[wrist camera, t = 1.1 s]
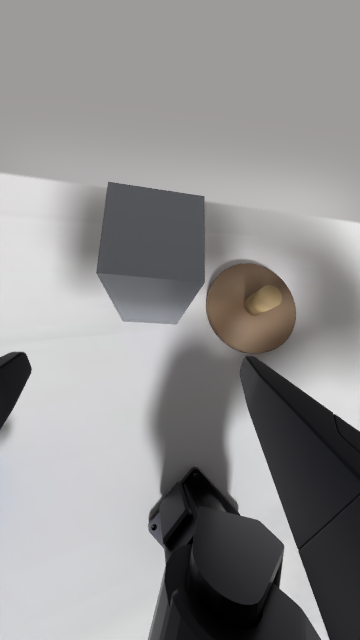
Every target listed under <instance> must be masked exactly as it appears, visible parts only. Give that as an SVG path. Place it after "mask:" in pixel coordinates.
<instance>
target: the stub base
mask: <svg viewBox="0 0 360 640" xmlns="http://www.w3.org/2000/svg"><path fill="white" fill-rule="evenodd" d="M206 311H207V316H208V320H209V323H210V325H211V327H212V329H213V330H214V332H215V333H216V335H217V336H218V337H219V338H220V339H221V340H222V341H223V342H224V343H225V344H227V345H228V346H230V347H231V348H233V349H235V350H238V351H241V352H245V353H262V352H267V351H271V350H274V349H276V348H277V347H279V346H280V345H282V344H283V343H284V342H285V341H286V340H287V339H288V337H289V336H290V334H291V332H292V330H293V328H294V325H295V320H296V308H295V303H294V300H293V297H292V294H291V292H290V290H289V289H288V287H287V285H286V284H285V283H284V282H283V280H282V279H281V278H280V277H279V276H277V275H276V274H275V273H274V272H272V271H271V270H269V269H267V268H265V267H262V266H259V265H255V264H238V265H234V266H232V267H229V268H228V269H226V270H225V271H223V272H222V273H221V274H220V275H219V276H218V277H217V278H216V280H215V281H214V282H213V284H212V285H211V287H210V289H209V292H208V295H207V300H206Z"/></svg>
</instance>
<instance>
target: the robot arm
mask: <svg viewBox="0 0 360 640" xmlns="http://www.w3.org/2000/svg"><path fill="white" fill-rule="evenodd" d="M31 370H32V369H31V365H30V362H29V360H28V357H27V355H26V353H24V352H11V353H9V354H6V355H4V356H2V357H0V429H1V428H2V426H3V424H4V423H5V421H6V420H7V418H8V416H9V415H10V413H11V411H12V410H13V408H14V406H15V404H16V402H17V400H18V398H19V396H20V394H21V392H22V390H23V388H24V386H25V384H26V382H27V380H28V378H29V376H30V374H31ZM240 377H241V382H242V386H243V390H244V394H245V399H246V403H247V407H248V410H249V413H250V416H251V419H252V422H253V424H254V427H255V430H256V433H257V436H258V439H259V441H260V444H261V447H262V450H263V453H264V455H265V458H266V461H267V464H268V467H269V469H270V472H271V475H272V478H273V481H274V484H275V486H276V489H277V492H278V495H279V498H280V500H281V503H282V506H283V509H284V512H285V514H286V517H287V520H288V523H289V526H290V529H291V531H292V534H293V537H294V540H295V543H296V545H297V548H298V549H299V554H300V557H301V560H302V563H303V566H304V568H305V571H306V574H307V577H308V580H309V582H310V585H311V588H312V591H313V594H314V597H315V599H316V602H317V605H318V608H319V611H320V613H321V616H322V619H323V622H324V625H325V627H326V630H327V633H328V636H329V639H330V640H360V431H358V430H357V429H355V428H354V427H352V426H351V425H349V424H348V423H347V422H345V421H344V420H342V419H341V418H340V417H338V416H337V415H335V414H334V415H333V413H332V412H331V411H330V410H328V409H327V408H326V407H324V406H323V405H321V404H320V403H319V402H317V401H316V400H314V399H313V398H312V397H310V396H309V395H307V394H306V393H305V392H303V391H302V390H300V389H299V388H298V387H296V386H295V385H293V384H292V383H291V382H289V381H288V380H286V379H285V378H284V377H282V376H281V375H280V374H278V373H277V372H275V371H274V370H273V369H271V368H270V367H268V366H267V365H266V364H264V363H263V362H261V361H260V360H259V359H257V358H256V357H254V356H245V357H244V358H243V362H242V365H241V369H240ZM194 472H197V475H195V476H194V475H193V474H194ZM153 524H156V527H152V525H153ZM148 527H149V532H150V533H151V534H152V535H153V537H154V538H155V539H156V540H157V541H158V542H159V543H160V544H161V546H162V547H163V548H164V550H165V562H166V567H165V571H164V575H163V579H162V583H161V587H160V592H159V596H158V600H157V604H156V608H155V612H154V616H153V621H152V625H151V629H150V633H149V637H148V640H321V639H320V637H319V635H318V634H317V632H316V631H315V629H314V627H313V626H312V624H311V623H310V621H309V619H308V618H307V616H306V614H305V613H304V612H303V610H302V609H301V608H300V607H299V606H298V605H297V604H296V603H295V602H294V601H293V600H292V599H291V598H289V597H288V596H287V595H286V594H285V593H284V592H283V591H281V590H280V589H279V586H280V578H281V569H282V561H283V553H284V544H283V543H282V542H281V541H280V540H279V539H278V538H277V537H276V536H275V535H274V534H273V533H272V532H271V531H269V530H268V529H267V528H266V527H265V526H264V525H263V524H262V523H261V522H260V521H258V520H255V519H251V518H247V517H244V516H240V514H239V512H238V511H237V510H236V509H235V508H234V506H233V505H232V504H231V503H230V502H229V501H228V500H227V499H226V498H225V497H224V496H223V494H222V493H221V492H220V491H219V490H218V489H217V488H216V487H215V486H214V485H213V484H212V483H211V481H210V480H209V479H208V478H207V477H206V476H205V475H204V474H203V473H202V472H201V471H200V469H199V468H197V467H193V468H192V469H191V470H190V471H189V472H188V474H187V475H186V476H185V477H184V479H183V480H182V481H181V482H178V483H177V484H176V485H175V486H174V488H173V489H172V490H171V491H170V493H169V494H168V495H167V496H166V497H165V499H164V500H163V501H162V502H161V504H160V506H159V510H158V511H157V512H156V513H155V515H154V516H153V517H152V518H151V519H150V521H149V525H148Z"/></svg>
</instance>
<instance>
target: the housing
mask: <svg viewBox="0 0 360 640" xmlns="http://www.w3.org/2000/svg"><path fill="white" fill-rule="evenodd" d="M96 273H97V275H98V277H99V279H100V280H101V282H102V284H103V286H104V288H105V290H106V291H107V293H108V295H109V297H110V299H111V300H112V302H113V304H114V306H115V308H116V309H117V311H118V313H119V315H120V317H121V319H122V320H123V321H128V322H146V323H163V324H177V323H178V321H179V320H180V318H181V317H182V315H183V314H184V312H185V311H186V309H187V308H188V306H189V305H190V303H191V302H192V300H193V299H194V297H195V296H196V295H197V293H198V292H199V290H200V289H201V287H202V286H203V284H204V283H205V253H204V196H198V195H191V194H184V193H178V192H172V191H165V190H158V189H152V188H145V187H139V186H131V185H125V184H119V183H112V182H108V188H107V195H106V203H105V211H104V218H103V226H102V234H101V241H100V249H99V257H98V264H97V272H96Z"/></svg>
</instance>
